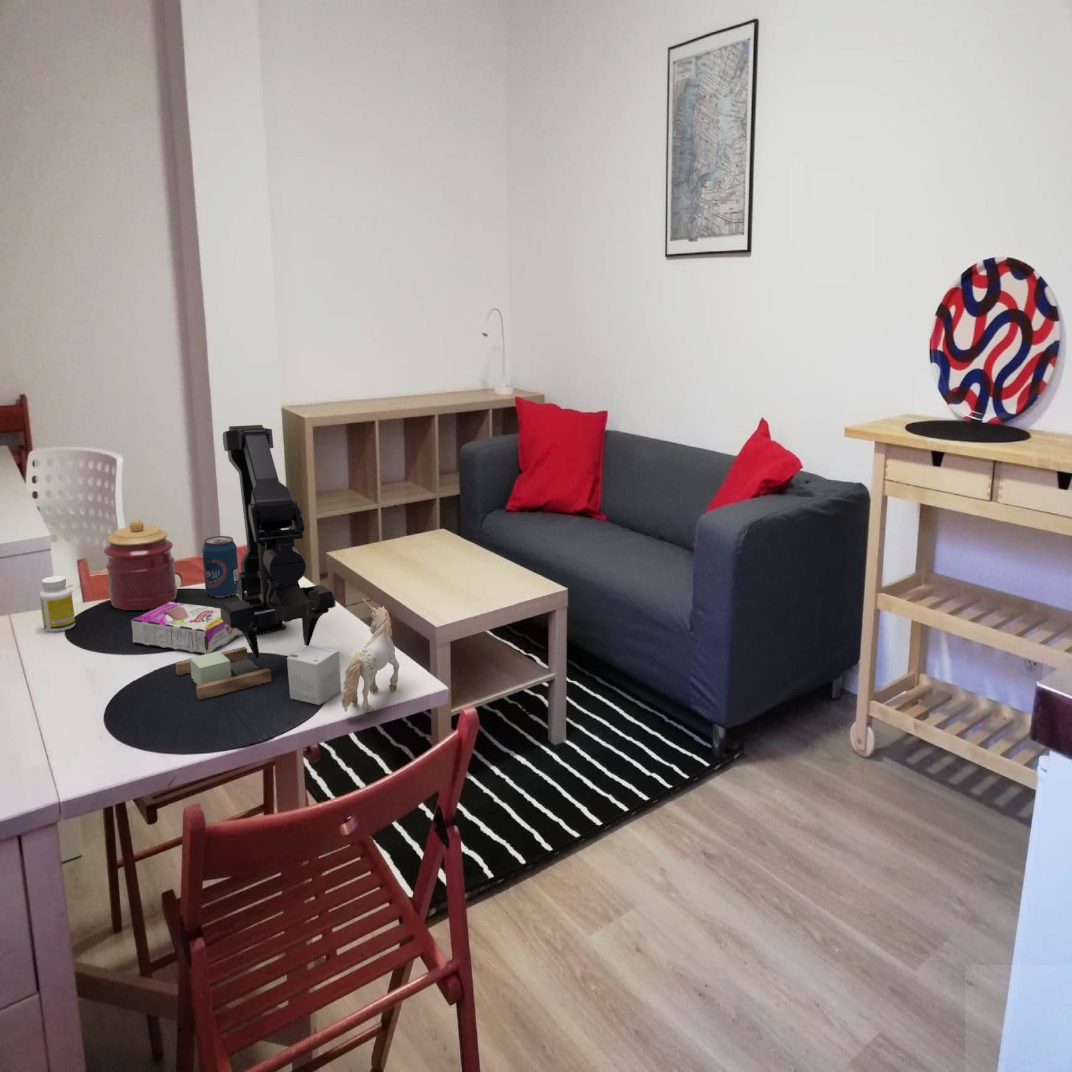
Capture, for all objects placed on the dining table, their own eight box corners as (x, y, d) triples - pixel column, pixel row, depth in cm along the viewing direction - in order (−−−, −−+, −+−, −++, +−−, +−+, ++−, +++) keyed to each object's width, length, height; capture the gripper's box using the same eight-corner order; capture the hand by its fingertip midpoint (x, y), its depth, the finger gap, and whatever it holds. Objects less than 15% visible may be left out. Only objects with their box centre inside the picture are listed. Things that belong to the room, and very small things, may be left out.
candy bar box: (169, 599, 173) (243, 609, 169) (171, 623, 174) (244, 634, 170) (128, 618, 163) (206, 630, 158) (131, 643, 164) (208, 656, 160)
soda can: (199, 597, 189) (194, 542, 185) (216, 586, 195) (211, 534, 192) (230, 599, 188) (225, 545, 184) (245, 589, 194) (241, 536, 191)
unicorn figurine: (405, 671, 155) (404, 599, 152) (386, 724, 137) (384, 643, 133) (364, 670, 155) (361, 598, 152) (340, 723, 137) (336, 642, 133)
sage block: (221, 672, 154) (219, 651, 152) (231, 682, 150) (230, 660, 149) (191, 679, 151) (189, 658, 149) (201, 690, 147) (199, 668, 146)
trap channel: (245, 657, 160) (244, 646, 159) (271, 681, 150) (270, 670, 150) (176, 673, 153) (175, 662, 152) (199, 699, 143) (198, 688, 143)
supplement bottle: (82, 624, 173) (76, 576, 170) (59, 634, 168) (52, 585, 165) (60, 620, 175) (54, 573, 172) (37, 630, 170) (30, 581, 167)
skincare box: (341, 691, 147) (340, 650, 145) (319, 706, 142) (316, 663, 140) (312, 684, 150) (309, 643, 148) (288, 698, 144) (285, 656, 142)
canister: (96, 606, 182) (85, 523, 177) (144, 587, 194) (135, 509, 189) (145, 616, 178) (135, 531, 173) (191, 596, 189) (184, 516, 184)
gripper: (239, 590, 141) (246, 680, 145) (347, 569, 152) (350, 654, 156) (216, 571, 150) (223, 657, 154) (320, 553, 160) (324, 634, 165)
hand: (282, 651), depth 157 cm, fingers open, 9 cm apart
